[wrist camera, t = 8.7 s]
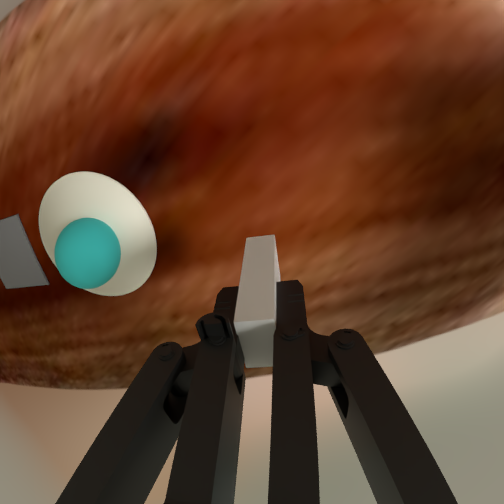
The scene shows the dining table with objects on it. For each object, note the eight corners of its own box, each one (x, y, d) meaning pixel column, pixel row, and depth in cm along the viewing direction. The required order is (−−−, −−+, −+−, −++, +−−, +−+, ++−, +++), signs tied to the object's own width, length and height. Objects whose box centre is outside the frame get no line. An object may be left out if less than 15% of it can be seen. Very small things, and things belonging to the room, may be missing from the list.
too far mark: (18, 214, 23) (16, 214, 23) (49, 283, 27) (48, 284, 27) (-22, 228, 24) (-23, 228, 24) (7, 287, 28) (6, 288, 28)
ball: (103, 200, 24) (111, 216, 19) (123, 256, 26) (136, 283, 22) (45, 225, 22) (40, 248, 17) (70, 280, 24) (73, 312, 20)
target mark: (132, 155, 21) (131, 155, 21) (174, 289, 27) (174, 291, 26) (23, 190, 22) (22, 190, 22) (70, 298, 28) (69, 299, 28)
